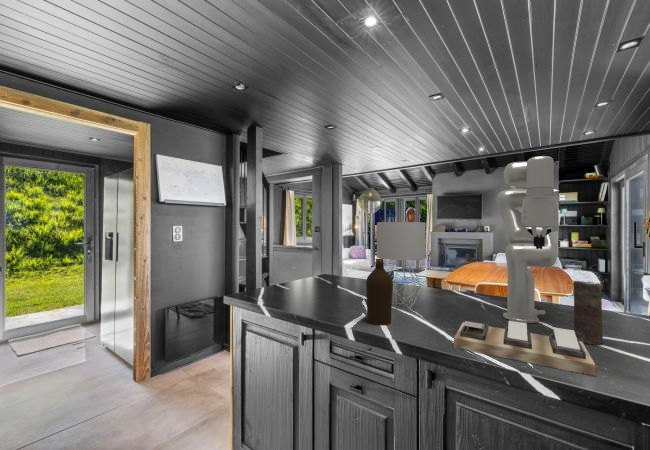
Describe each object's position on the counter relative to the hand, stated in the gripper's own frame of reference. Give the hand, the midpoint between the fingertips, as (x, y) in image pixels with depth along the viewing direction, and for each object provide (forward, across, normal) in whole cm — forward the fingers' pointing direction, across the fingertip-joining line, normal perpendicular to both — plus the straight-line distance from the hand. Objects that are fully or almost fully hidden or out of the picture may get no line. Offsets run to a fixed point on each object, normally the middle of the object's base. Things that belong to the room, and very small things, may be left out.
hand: (539, 248), depth 103 cm
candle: (+31, -14, -9) cm, 36 cm away
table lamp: (+31, +53, -18) cm, 64 cm away
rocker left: (+26, +18, +12) cm, 34 cm away
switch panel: (+31, +6, +12) cm, 34 cm away
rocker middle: (+26, +6, +12) cm, 30 cm away
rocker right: (+26, -6, +12) cm, 30 cm away
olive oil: (+31, +53, +10) cm, 62 cm away
